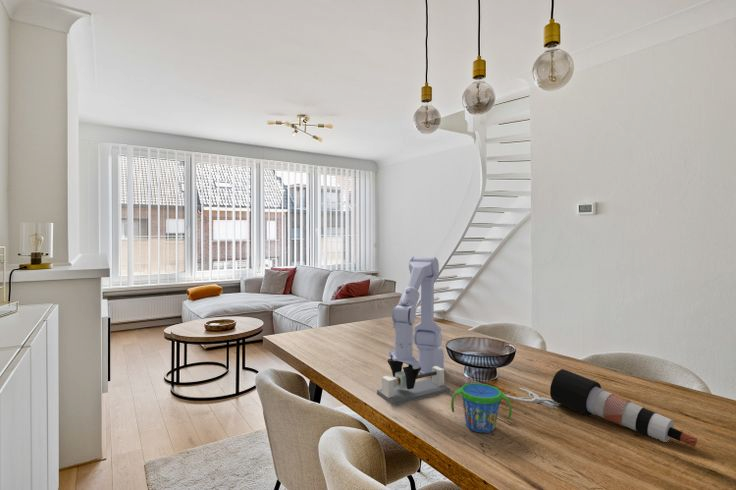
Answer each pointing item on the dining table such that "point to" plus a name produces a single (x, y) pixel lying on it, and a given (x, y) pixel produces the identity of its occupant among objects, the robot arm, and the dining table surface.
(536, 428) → the dining table surface
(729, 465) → the dining table surface
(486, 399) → the snack cup
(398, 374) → the marker sleeve
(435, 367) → the cord rig
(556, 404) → the pliers
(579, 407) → the cable
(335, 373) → the dining table surface
